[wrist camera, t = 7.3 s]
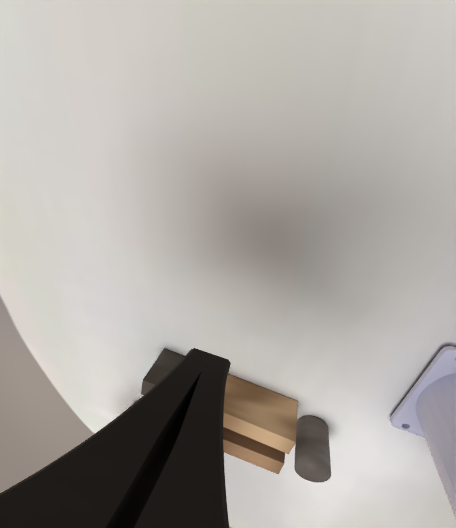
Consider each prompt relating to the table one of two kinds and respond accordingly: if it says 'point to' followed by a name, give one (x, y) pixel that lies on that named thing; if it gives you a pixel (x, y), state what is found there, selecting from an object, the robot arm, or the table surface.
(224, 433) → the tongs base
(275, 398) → the wooden bar grey ends
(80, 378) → the table surface
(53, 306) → the table surface
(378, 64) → the table surface
